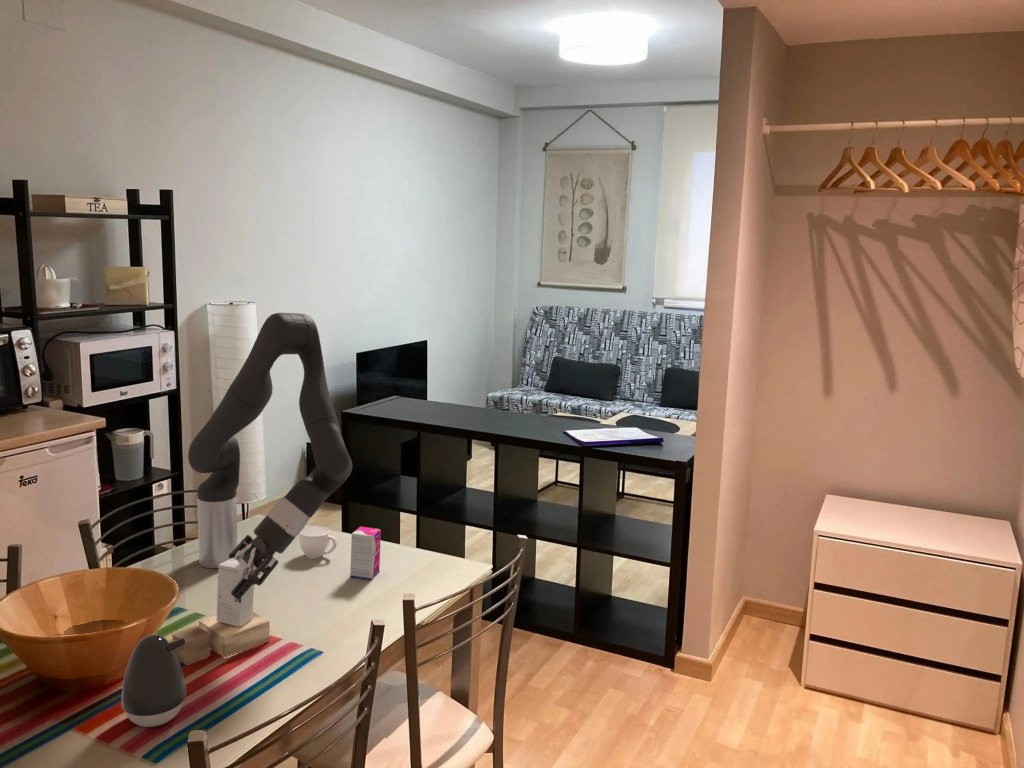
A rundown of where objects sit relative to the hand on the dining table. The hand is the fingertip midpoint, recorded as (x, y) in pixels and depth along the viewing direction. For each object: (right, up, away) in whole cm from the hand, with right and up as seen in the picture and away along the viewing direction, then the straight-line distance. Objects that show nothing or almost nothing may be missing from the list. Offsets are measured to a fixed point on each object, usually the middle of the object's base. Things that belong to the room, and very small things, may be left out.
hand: (227, 588), depth 169 cm
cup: (+7, -4, +49) cm, 50 cm away
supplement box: (+21, -6, +38) cm, 44 cm away
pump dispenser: (-4, -16, -25) cm, 30 cm away
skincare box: (+1, -7, +2) cm, 7 cm away
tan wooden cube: (-6, -12, -4) cm, 14 cm away
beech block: (+1, -12, +3) cm, 12 cm away
